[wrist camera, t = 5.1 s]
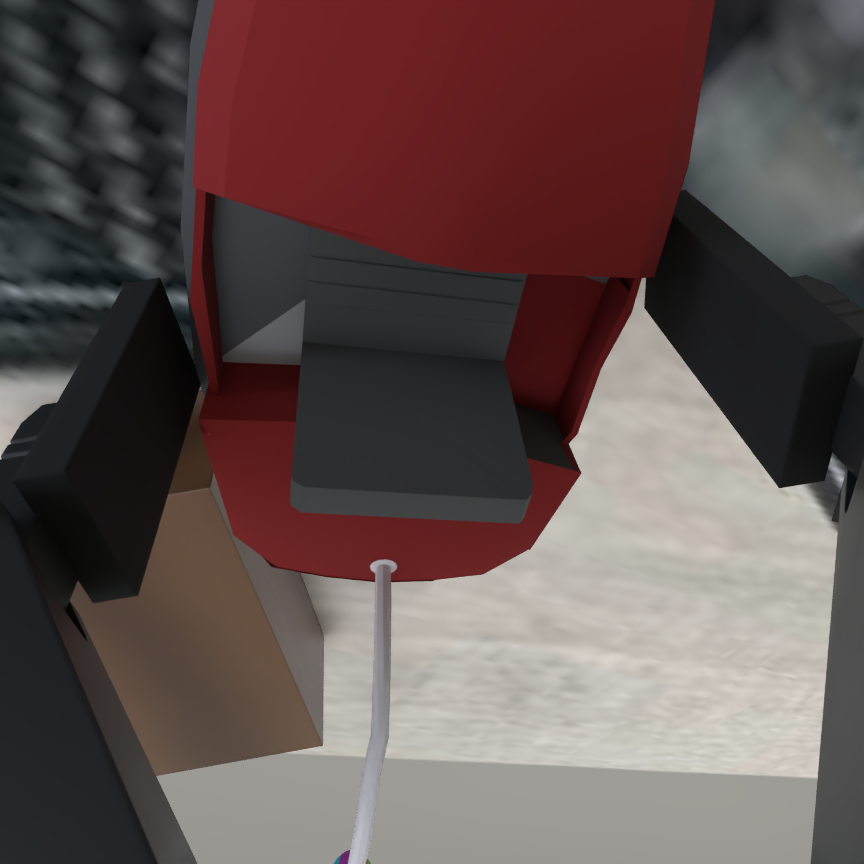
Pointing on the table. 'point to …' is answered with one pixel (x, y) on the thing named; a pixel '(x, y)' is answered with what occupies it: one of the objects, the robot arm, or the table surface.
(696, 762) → the table surface
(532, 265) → the bumper car
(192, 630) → the walnut block
